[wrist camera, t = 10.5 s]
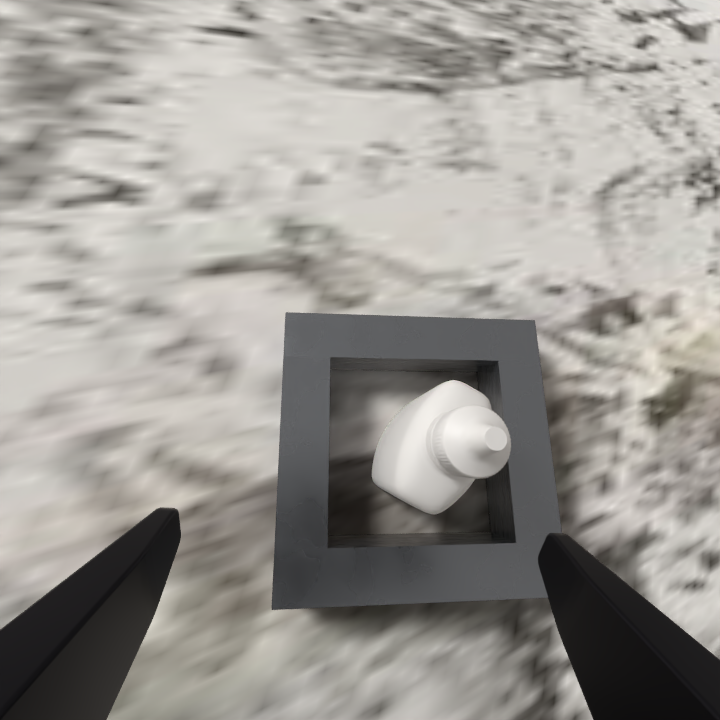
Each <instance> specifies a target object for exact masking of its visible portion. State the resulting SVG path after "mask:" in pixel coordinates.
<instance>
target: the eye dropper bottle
mask: <svg viewBox="0 0 720 720" xmlns="http://www.w3.org/2000/svg"><path fill="white" fill-rule="evenodd" d="M510 448H511V438H510V434H509V431H508V428H507V427H506V424H505V423H504V421H502V418H500V416H499V415H497V413H494V411H492V409H491V404H490V402H489V399H488V398H487V397H486V396H485V395H484V394H482V393H481V392H479V391H478V390H476V389H474V388H472V387H471V386H469V385H467V384H465V383H463V382H460V381H456V380H450V381H447V382H444V383H442V384H440V385H438V386H436V387H435V388H433V389H431V390H429V391H428V392H426V393H424V394H423V395H421V396H419V397H418V398H416V399H415V400H413V401H411V402H410V403H408V404H407V405H406V406H404V407H403V408H402V409H401V410H400V411H399V412H398V413H397V414H396V415H395V416H394V417H393V419H392V420H391V421H390V422H389V424H388V425H387V427H386V428H385V430H384V432H383V434H382V436H381V438H380V440H379V442H378V445H377V448H376V451H375V455H374V459H373V465H372V480H373V482H374V483H375V484H376V486H378V487H379V488H381V489H382V490H384V491H386V492H388V493H389V494H391V495H393V496H395V497H396V498H398V499H400V500H402V501H404V502H406V503H408V504H409V505H411V506H413V507H415V508H417V509H419V510H421V511H423V512H426V513H429V514H438V513H441V512H443V511H444V510H446V509H447V508H449V507H450V506H451V505H452V504H454V503H455V502H456V501H457V500H458V499H459V498H460V497H461V496H462V495H463V494H464V493H465V492H466V491H467V489H468V488H469V487H470V486H471V484H472V483H473V481H474V480H475V479H481V478H484V479H485V477H486V478H488V477H489V476H491V477H492V475H495V474H496V473H498V472H499V470H500V471H501V468H503V467H504V465H506V462H507V460H508V459H509V455H510V451H511V449H510Z"/></svg>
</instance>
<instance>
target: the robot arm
mask: <svg viewBox="0 0 720 720" xmlns="http://www.w3.org/2000/svg"><path fill="white" fill-rule="evenodd" d="M180 538H181V530H180V521H179V513H178V510H177V509H175V508H158V509H156V510H155V511H153V512H152V513H151V514H150V515H148V516H147V517H146V518H144V519H143V520H142V521H140V522H139V523H138V524H137V525H135V526H134V527H133V528H131V529H130V530H129V531H127V532H126V533H125V534H124V535H122V536H121V537H120V538H118V539H117V540H116V541H114V542H113V543H112V544H111V545H109V546H108V547H107V548H105V549H104V550H103V551H102V552H100V553H99V554H98V555H96V556H95V557H94V558H92V559H91V560H90V561H89V562H87V563H86V564H85V565H83V566H82V567H81V568H79V569H78V570H77V571H76V572H74V573H73V574H72V575H70V576H69V577H68V578H67V579H65V580H64V581H63V582H61V583H60V584H59V585H57V586H56V587H55V588H54V589H52V590H51V591H50V592H48V593H47V594H46V595H44V596H43V597H42V598H41V599H39V600H38V601H37V602H35V603H34V604H33V605H32V606H30V607H29V608H28V609H26V610H25V611H24V612H22V613H21V614H20V615H19V616H17V617H16V618H15V619H13V620H12V621H11V622H9V623H8V624H7V625H6V626H4V627H3V628H2V629H0V720H106V719H107V717H108V715H109V713H110V711H111V709H112V706H113V704H114V702H115V700H116V698H117V696H118V693H119V691H120V689H121V687H122V685H123V683H124V680H125V678H126V676H127V674H128V672H129V670H130V667H131V665H132V663H133V661H134V659H135V656H136V654H137V652H138V650H139V648H140V646H141V643H142V641H143V639H144V637H145V635H146V633H147V630H148V628H149V626H150V624H151V621H152V619H153V617H154V615H155V612H156V609H157V606H158V604H159V601H160V598H161V595H162V592H163V589H164V587H165V584H166V581H167V578H168V575H169V572H170V569H171V566H172V564H173V561H174V558H175V555H176V552H177V549H178V546H179V543H180ZM538 565H539V569H540V572H541V575H542V579H543V582H544V585H545V589H546V592H547V595H548V599H549V602H550V605H551V609H552V612H553V615H554V619H555V622H556V625H557V628H558V631H559V634H560V636H561V639H562V642H563V644H564V647H565V649H566V652H567V654H568V657H569V659H570V662H571V664H572V667H573V669H574V672H575V674H576V677H577V679H578V682H579V684H580V687H581V689H582V692H583V695H584V697H585V700H586V702H587V705H588V707H589V710H590V712H591V715H592V717H593V720H720V660H719V659H718V658H717V657H716V656H714V655H713V654H712V653H711V652H710V651H708V650H707V649H706V648H705V647H703V646H702V645H701V644H700V643H699V642H697V641H696V640H695V639H694V638H692V637H691V636H690V635H689V634H688V633H686V632H685V631H684V630H683V629H682V628H680V627H679V626H678V625H677V624H675V623H674V622H673V621H672V620H671V619H669V618H668V617H667V616H666V615H665V614H663V613H662V612H661V611H660V610H658V609H657V608H656V607H655V606H654V605H652V604H651V603H650V602H649V601H647V600H646V599H645V598H644V597H643V596H641V595H640V594H639V593H638V592H637V591H635V590H634V589H633V588H632V587H630V586H629V585H628V584H627V583H626V582H624V581H623V580H622V579H621V578H619V577H618V576H617V575H616V574H615V573H613V572H612V571H611V570H610V569H609V568H607V567H606V566H605V565H604V564H602V563H601V562H600V561H599V560H598V559H596V558H595V557H594V556H593V555H591V554H590V553H589V552H588V551H587V550H585V549H584V548H583V547H582V546H581V545H579V544H578V543H577V542H576V541H574V540H573V539H572V538H571V537H569V536H568V535H566V534H563V533H549V534H548V535H547V536H546V538H545V541H544V543H543V545H542V548H541V550H540V552H539V555H538Z"/></svg>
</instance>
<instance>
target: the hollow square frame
mask: <svg viewBox="0 0 720 720" xmlns="http://www.w3.org/2000/svg"><path fill="white" fill-rule="evenodd" d="M330 369H332V370H389V371H445V372H477V377H478V388H479V392H481V393H482V394H484V395H485V396H486V397H487V398H488V399H489V402H490V404H491V409H492V411H494V413H497V415H499V416H500V418H502V421H504V423H505V424H506V427H507V428H508V431H509V434H510V438H511V448H510V449H511V451H510V455H509V459H508V460H507V462H506V465H504V467H503V468H501V471H500V470H499V472H498V473H496V474H495V475H492V477H491V476H489V477H488V478H486V484H487V496H488V508H489V520H490V532H454V533H415V534H376V535H336V536H328V481H329V415H330ZM549 533H562V531H561V523H560V515H559V507H558V499H557V491H556V483H555V475H554V467H553V460H552V452H551V444H550V436H549V428H548V420H547V412H546V404H545V397H544V389H543V381H542V373H541V365H540V357H539V349H538V341H537V334H536V326H535V320H505V319H474V318H443V317H412V316H381V315H350V314H319V313H288V312H286V317H285V338H284V359H283V380H282V401H281V423H280V444H279V465H278V486H277V508H276V529H275V550H274V571H273V592H272V610H278V609H301V608H323V607H346V606H369V605H392V604H414V603H437V602H460V601H482V600H505V599H528V598H548V595H547V592H546V589H545V585H544V582H543V579H542V575H541V572H540V569H539V565H538V555H539V552H540V550H541V548H542V545H543V543H544V541H545V538H546V536H547V535H548V534H549Z"/></svg>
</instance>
